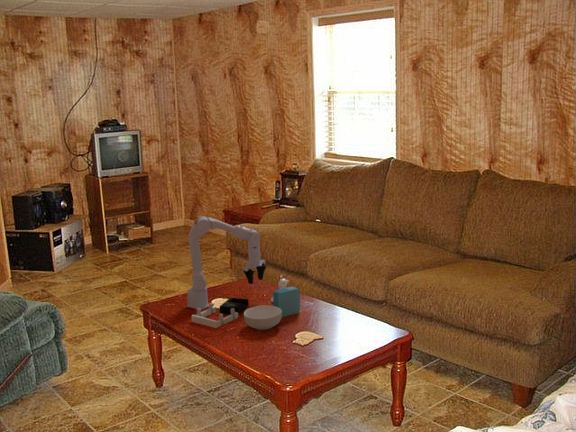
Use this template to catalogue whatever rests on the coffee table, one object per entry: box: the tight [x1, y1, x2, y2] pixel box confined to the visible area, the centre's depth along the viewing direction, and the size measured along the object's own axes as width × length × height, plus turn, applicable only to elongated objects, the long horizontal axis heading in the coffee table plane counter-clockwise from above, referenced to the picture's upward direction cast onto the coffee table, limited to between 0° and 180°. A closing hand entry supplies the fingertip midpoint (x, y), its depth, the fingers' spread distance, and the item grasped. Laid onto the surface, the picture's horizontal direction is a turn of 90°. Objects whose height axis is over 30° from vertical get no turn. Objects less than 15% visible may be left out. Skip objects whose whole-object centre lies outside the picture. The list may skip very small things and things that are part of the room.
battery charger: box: [219, 297, 250, 316], centre depth 303 cm, size 13×10×4 cm
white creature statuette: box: [270, 278, 290, 304], centre depth 312 cm, size 10×9×12 cm
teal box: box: [272, 286, 301, 319], centre depth 295 cm, size 12×4×12 cm, turn 125°
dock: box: [191, 302, 239, 329], centre depth 291 cm, size 16×15×5 cm
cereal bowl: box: [243, 305, 283, 331], centre depth 281 cm, size 17×17×7 cm
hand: (255, 281), depth 313 cm, fingers open, 7 cm apart
